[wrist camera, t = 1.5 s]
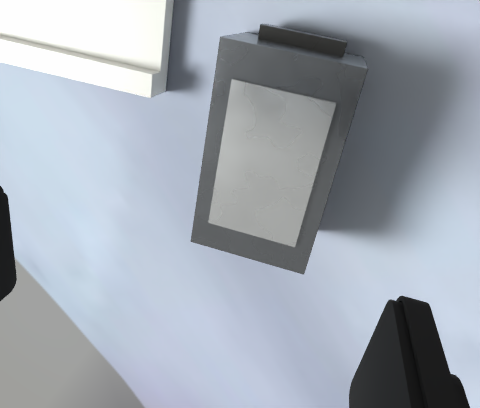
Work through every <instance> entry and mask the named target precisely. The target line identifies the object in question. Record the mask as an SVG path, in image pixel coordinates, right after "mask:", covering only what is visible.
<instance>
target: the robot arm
mask: <svg viewBox="0 0 480 408" xmlns="http://www.w3.org/2000/svg"><path fill="white" fill-rule="evenodd" d="M15 284H16V269H15V259H14V250H13V241H12V231H11V222H10V213H9V204H8V197H7V195H6V194H5V193H4V191H3V189H2V187H1V186H0V301H1V300H2V299H3V298H4V297H5V296H7V295H8V294H9V293H10V292H11V291H12V289H13V288H14V286H15ZM349 408H470V406H469V403H468V400H467V397H466V394H465V391H464V388H463V385H462V383H461V381H460V379H459V378H458V377H457V376H456V375H453V374H450V371H449V368H448V364H447V361H446V358H445V354H444V351H443V348H442V344H441V341H440V338H439V334H438V331H437V328H436V324H435V321H434V318H433V314H432V311H431V308H430V306H429V304H428V303H426V302H423V301H419V300H415V299H412V298H408V297H404V296H400V297H399V298H398V299H397V301H394V300H389V301H388V302H387V304H386V306H385V308H384V310H383V313H382V315H381V317H380V319H379V322H378V324H377V326H376V328H375V331H374V333H373V335H372V337H371V340H370V342H369V344H368V346H367V349H366V351H365V353H364V355H363V358H362V360H361V362H360V364H359V367H358V369H357V371H356V373H355V375H354V378H353V380H352V383H351V387H350V393H349Z"/></svg>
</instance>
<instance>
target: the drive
mask: <svg viewBox="0 0 480 408" xmlns="http://www.w3.org/2000/svg"><path fill="white" fill-rule="evenodd" d="M346 44H347V41H345V40H340V39H336V38H331V37H326V36H321V35H316V34H312V33H307V32H302V31H297V30H293V29H288V28H283V27H278V26H273V25H269V24H261V25H260V30H259V35H257V34H253V33H248V32H245V33H239V34H233V35H228V36H222V37H220V42H219V49H218V56H217V63H216V70H215V77H214V84H213V91H212V98H211V104H210V111H209V118H208V125H207V132H206V139H205V146H204V153H203V160H202V167H201V174H200V181H199V188H198V195H197V202H196V209H195V216H194V222H193V229H192V236H191V242H194V243H197V244H201V245H204V246H208V247H211V248H215V249H218V250H221V251H225V252H228V253H232V254H235V255H239V256H242V257H245V258H249V259H252V260H256V261H259V262H263V263H266V264H269V265H273V266H276V267H280V268H283V269H287V270H290V271H294V272H297V273H300V274H304V273H305V269H306V266H307V263H308V260H309V257H310V253H311V250H312V247H313V244H314V241H315V237H316V234H317V231H318V228H319V224H320V221H321V218H322V215H323V212H324V208H325V205H326V202H327V199H328V196H329V192H330V189H331V186H332V183H333V179H334V176H335V173H336V170H337V167H338V163H339V160H340V157H341V154H342V151H343V147H344V144H345V141H346V138H347V135H348V131H349V128H350V125H351V122H352V118H353V115H354V112H355V109H356V106H357V102H358V99H359V96H360V93H361V90H362V86H363V83H364V80H365V77H366V73H367V70H368V68H367V65H366V62H365V59H364V57H360V56H356V55H351V54H346V53H344V51H345V48H346Z"/></svg>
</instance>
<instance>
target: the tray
mask: <svg viewBox="0 0 480 408" xmlns="http://www.w3.org/2000/svg"><path fill="white" fill-rule="evenodd" d="M173 4H174V0H0V62H3V63H7V64H11V65H16V66H20V67H24V68H28V69H32V70H36V71H41V72H45V73H49V74H53V75H57V76H61V77H66V78H70V79H74V80H78V81H82V82H86V83H91V84H95V85H99V86H103V87H107V88H111V89H116V90H120V91H124V92H128V93H132V94H136V95H141V96H145V97H149V98H152V97H154V96H156V95H159V94H161V93H163V92H166V83H167V71H168V60H169V49H170V38H171V26H172V15H173Z"/></svg>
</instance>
